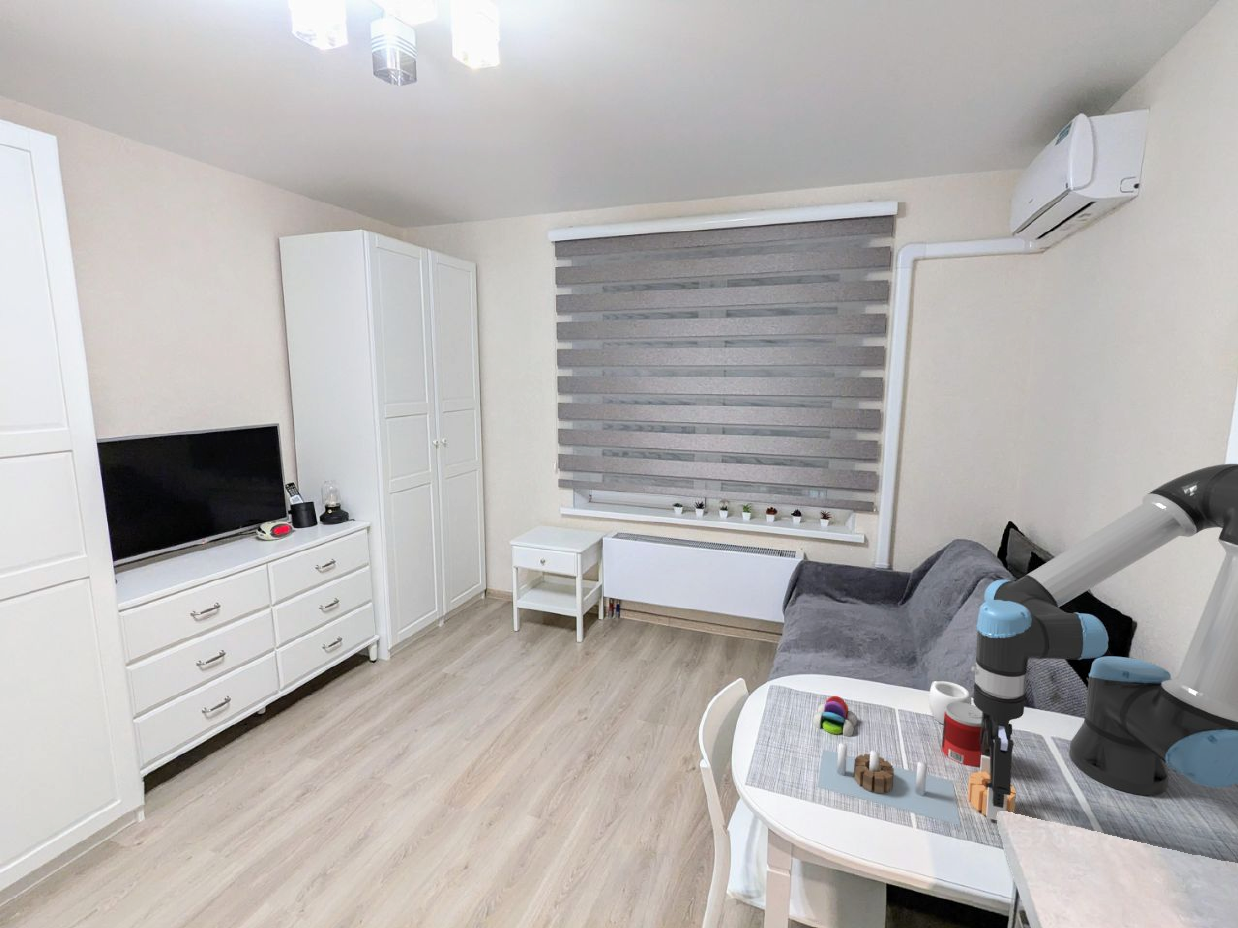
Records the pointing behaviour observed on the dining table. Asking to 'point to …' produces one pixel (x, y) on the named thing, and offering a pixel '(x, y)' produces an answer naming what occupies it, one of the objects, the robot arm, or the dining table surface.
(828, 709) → the multicolored petal toy
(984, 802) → the gear
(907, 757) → the dining table surface
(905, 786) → the gear board
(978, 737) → the canned food
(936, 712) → the mug
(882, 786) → the gear
